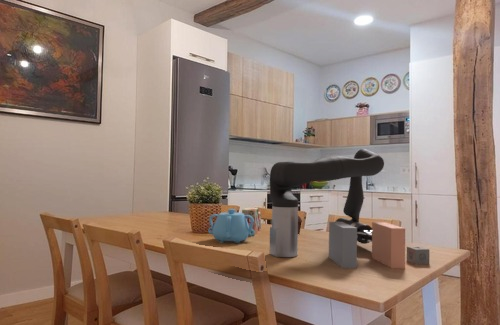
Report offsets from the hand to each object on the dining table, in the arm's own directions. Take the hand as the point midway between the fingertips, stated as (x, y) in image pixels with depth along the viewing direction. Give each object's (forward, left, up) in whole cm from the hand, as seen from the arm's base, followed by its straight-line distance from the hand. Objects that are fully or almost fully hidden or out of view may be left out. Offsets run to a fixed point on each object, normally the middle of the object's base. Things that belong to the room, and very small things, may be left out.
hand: (379, 240), depth 130 cm
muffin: (-9, +54, -6) cm, 55 cm away
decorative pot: (-42, +43, -6) cm, 60 cm away
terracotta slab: (-2, -7, -6) cm, 10 cm away
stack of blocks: (-26, +63, -6) cm, 68 cm away
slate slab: (-17, -3, -6) cm, 19 cm away
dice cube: (+8, -10, -6) cm, 14 cm away
